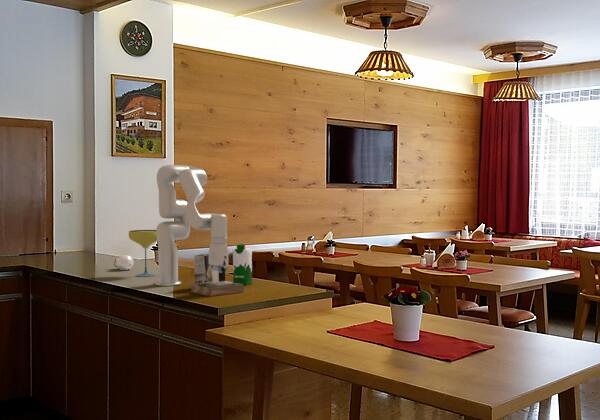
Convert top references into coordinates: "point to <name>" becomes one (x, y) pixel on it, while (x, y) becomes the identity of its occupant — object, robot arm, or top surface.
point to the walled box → (217, 289)
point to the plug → (216, 274)
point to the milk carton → (242, 265)
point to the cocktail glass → (144, 243)
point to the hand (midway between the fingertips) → (219, 280)
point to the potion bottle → (124, 262)
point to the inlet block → (218, 284)
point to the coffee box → (203, 269)
